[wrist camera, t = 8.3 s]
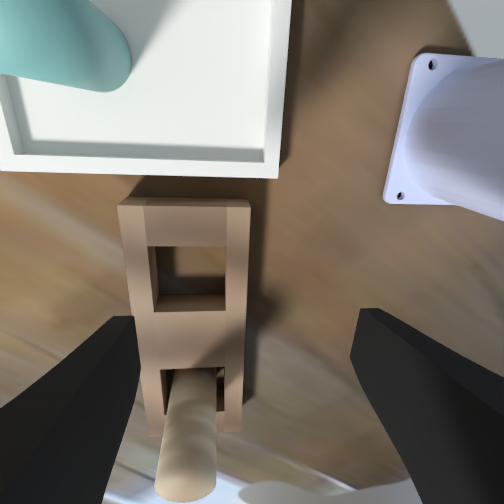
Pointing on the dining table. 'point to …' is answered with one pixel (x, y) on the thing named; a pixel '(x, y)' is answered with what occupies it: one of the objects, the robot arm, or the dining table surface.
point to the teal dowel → (63, 44)
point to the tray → (164, 97)
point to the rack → (187, 299)
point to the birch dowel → (189, 437)
